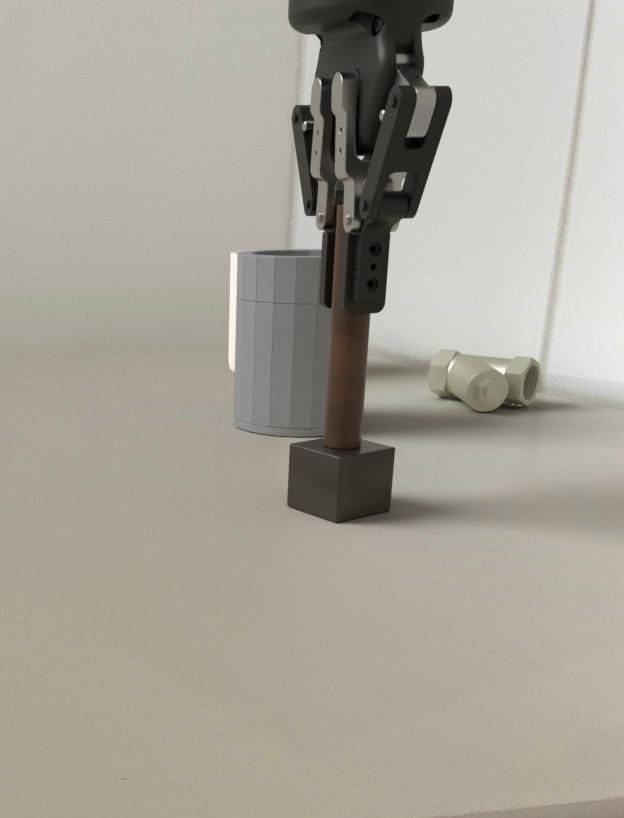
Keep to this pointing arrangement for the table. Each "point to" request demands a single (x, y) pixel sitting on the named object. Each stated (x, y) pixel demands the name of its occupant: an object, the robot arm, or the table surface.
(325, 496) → the hammer
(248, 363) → the cup
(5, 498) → the table surface
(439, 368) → the pipe fitting
